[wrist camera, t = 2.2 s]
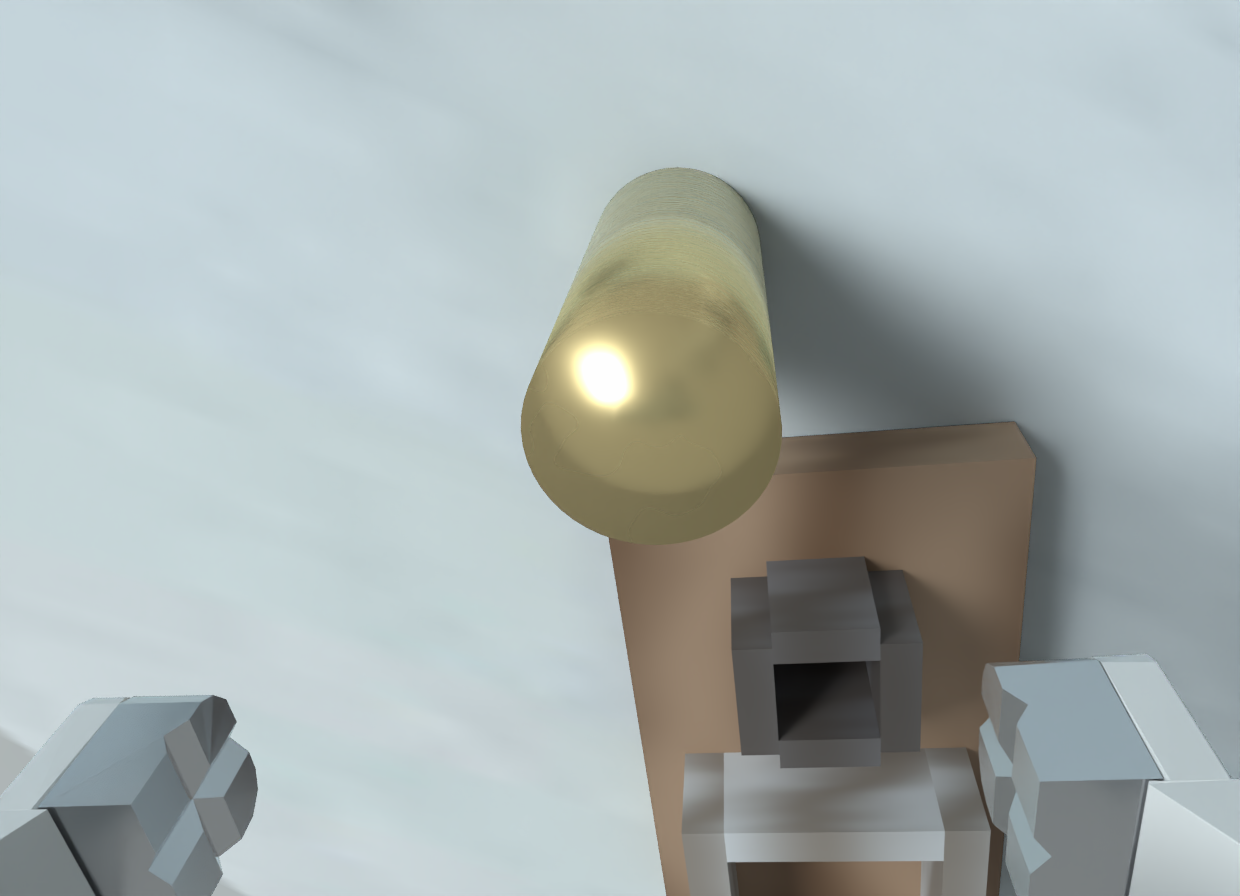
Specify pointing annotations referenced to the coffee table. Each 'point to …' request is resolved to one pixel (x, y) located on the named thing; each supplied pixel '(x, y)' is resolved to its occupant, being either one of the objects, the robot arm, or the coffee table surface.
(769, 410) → the brass cylinder rod
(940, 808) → the board
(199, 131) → the coffee table surface
